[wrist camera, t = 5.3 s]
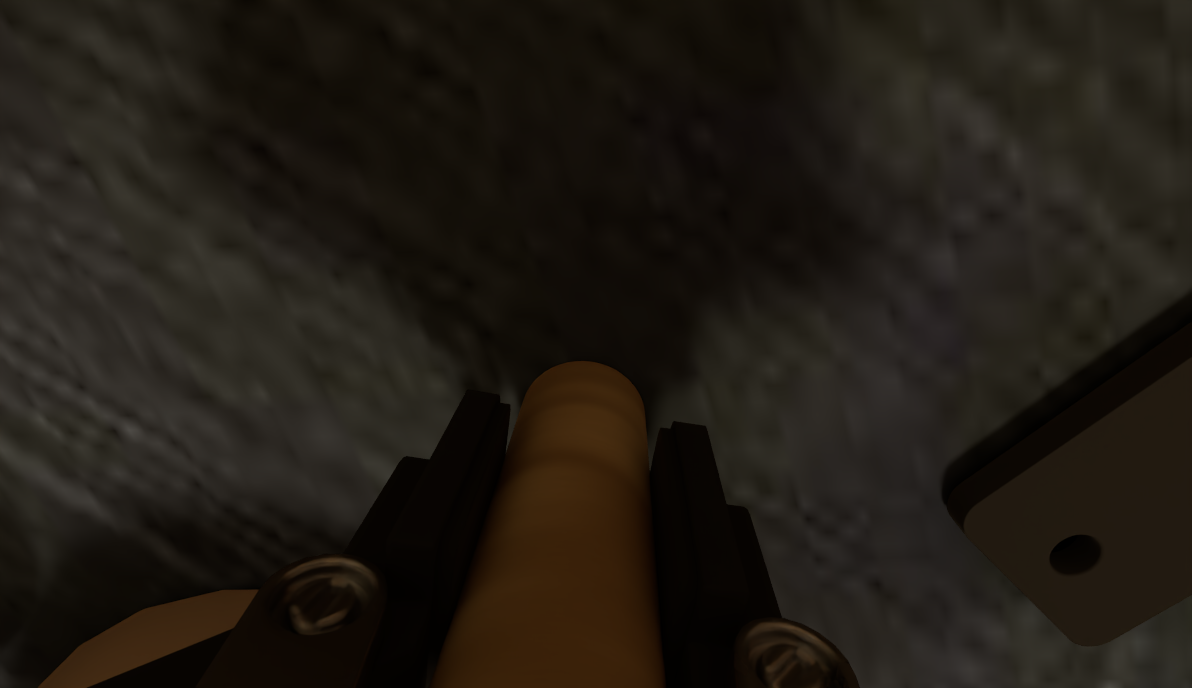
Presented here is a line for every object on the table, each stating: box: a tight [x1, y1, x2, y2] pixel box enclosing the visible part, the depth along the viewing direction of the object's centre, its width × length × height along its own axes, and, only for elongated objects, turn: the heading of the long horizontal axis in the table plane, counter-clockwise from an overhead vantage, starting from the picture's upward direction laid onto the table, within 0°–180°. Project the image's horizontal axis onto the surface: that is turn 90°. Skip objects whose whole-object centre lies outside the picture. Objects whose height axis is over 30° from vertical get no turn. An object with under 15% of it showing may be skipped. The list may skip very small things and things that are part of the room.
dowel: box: [429, 361, 666, 688], centre depth 9 cm, size 3×3×8 cm
